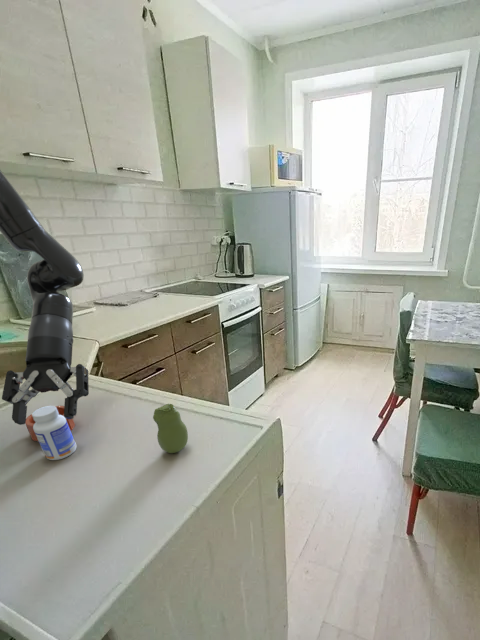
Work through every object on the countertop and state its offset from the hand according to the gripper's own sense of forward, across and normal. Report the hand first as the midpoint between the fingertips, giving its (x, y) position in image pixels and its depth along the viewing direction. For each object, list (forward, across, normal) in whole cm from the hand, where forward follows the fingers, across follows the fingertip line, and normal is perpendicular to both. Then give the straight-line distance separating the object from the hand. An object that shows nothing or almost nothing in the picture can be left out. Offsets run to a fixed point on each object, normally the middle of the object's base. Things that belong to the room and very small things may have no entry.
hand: (44, 420), depth 66 cm
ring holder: (-2, -5, +13) cm, 14 cm away
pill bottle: (+5, 0, +6) cm, 8 cm away
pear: (+8, +23, +3) cm, 24 cm away
